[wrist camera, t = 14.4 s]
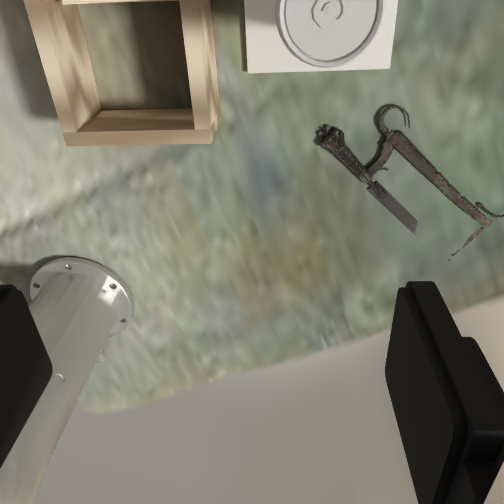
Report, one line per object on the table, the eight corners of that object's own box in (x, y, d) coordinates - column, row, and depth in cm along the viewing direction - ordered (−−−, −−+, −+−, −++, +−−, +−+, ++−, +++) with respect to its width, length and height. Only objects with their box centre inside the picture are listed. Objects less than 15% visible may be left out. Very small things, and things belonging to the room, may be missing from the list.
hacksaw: (311, 134, 42) (312, 140, 40) (401, 48, 37) (405, 51, 36) (458, 279, 50) (462, 287, 48) (547, 223, 45) (554, 231, 44)
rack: (220, 120, 41) (211, 143, 36) (92, 123, 42) (66, 146, 37) (196, -157, 30) (177, -179, 25) (25, -144, 31) (-25, -161, 26)
